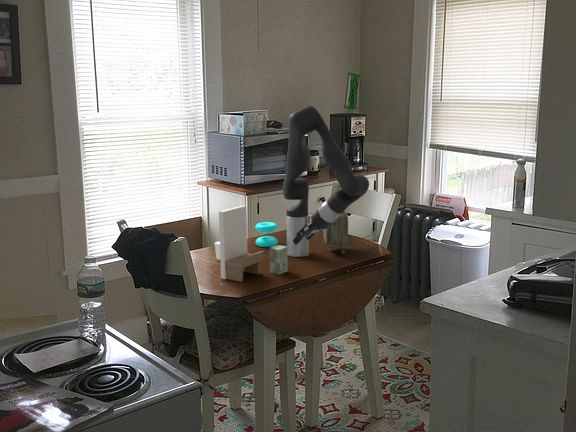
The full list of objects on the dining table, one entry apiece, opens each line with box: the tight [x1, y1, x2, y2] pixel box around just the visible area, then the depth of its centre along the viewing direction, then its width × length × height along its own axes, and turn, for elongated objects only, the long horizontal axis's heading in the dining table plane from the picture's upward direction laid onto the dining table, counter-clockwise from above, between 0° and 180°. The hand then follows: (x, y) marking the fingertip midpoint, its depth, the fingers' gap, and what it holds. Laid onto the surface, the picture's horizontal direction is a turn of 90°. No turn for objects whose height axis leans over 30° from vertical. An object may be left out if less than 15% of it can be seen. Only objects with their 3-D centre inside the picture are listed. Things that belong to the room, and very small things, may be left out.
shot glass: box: [214, 240, 220, 261], centre depth 267 cm, size 7×7×7 cm
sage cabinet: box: [269, 244, 289, 275], centre depth 247 cm, size 6×6×10 cm
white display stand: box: [218, 205, 265, 283], centre depth 240 cm, size 10×14×26 cm
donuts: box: [255, 221, 279, 248], centre depth 288 cm, size 10×10×10 cm
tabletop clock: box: [322, 209, 349, 255], centre depth 275 cm, size 14×9×25 cm, turn 4°
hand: (300, 240), depth 240 cm, fingers open, 8 cm apart
